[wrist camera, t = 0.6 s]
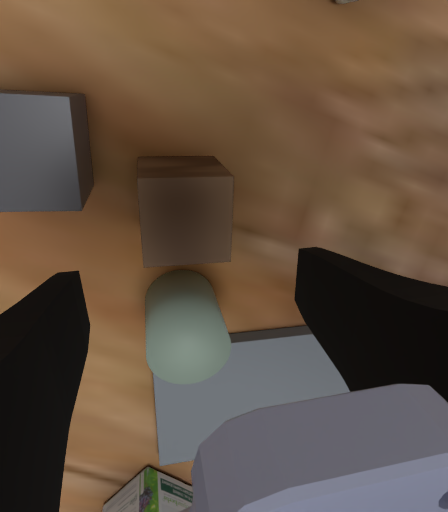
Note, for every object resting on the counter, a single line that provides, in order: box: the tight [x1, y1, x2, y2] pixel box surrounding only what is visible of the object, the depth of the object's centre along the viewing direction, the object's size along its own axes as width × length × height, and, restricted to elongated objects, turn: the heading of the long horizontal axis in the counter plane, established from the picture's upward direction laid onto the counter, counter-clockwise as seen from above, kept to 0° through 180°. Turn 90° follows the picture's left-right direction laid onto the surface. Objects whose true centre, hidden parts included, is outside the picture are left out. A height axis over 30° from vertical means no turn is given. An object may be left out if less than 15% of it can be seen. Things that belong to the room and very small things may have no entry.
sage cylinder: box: [145, 270, 231, 384], centre depth 21 cm, size 4×4×5 cm
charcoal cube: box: [0, 89, 94, 212], centre depth 16 cm, size 4×4×4 cm
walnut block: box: [137, 156, 234, 268], centre depth 18 cm, size 4×4×5 cm
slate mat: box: [153, 326, 350, 466], centre depth 28 cm, size 18×11×1 cm, turn 88°
